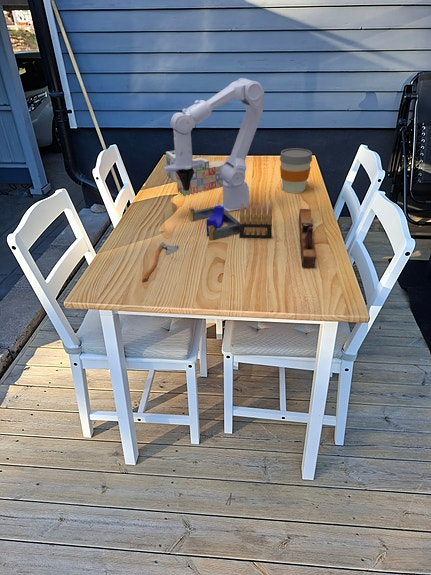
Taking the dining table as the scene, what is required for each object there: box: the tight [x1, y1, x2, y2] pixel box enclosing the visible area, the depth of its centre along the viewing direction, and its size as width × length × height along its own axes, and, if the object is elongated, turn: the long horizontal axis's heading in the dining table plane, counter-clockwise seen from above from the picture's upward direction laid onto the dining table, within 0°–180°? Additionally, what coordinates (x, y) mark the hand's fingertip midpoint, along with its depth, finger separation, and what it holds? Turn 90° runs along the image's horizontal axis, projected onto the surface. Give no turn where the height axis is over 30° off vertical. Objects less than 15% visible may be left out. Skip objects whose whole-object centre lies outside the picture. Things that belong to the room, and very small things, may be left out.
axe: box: [141, 242, 180, 283], centre depth 129 cm, size 22×6×2 cm, turn 172°
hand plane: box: [298, 208, 317, 269], centre depth 135 cm, size 34×5×10 cm, turn 175°
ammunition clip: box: [238, 202, 273, 240], centre depth 138 cm, size 11×2×12 cm, turn 85°
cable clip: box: [205, 205, 225, 237], centre depth 146 cm, size 12×4×6 cm, turn 165°
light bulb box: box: [165, 149, 177, 183], centre depth 188 cm, size 11×7×11 cm, turn 25°
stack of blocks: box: [176, 156, 225, 197], centre depth 176 cm, size 21×6×12 cm, turn 123°
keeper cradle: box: [188, 206, 240, 241], centre depth 147 cm, size 12×18×4 cm, turn 26°
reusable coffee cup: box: [279, 147, 313, 194], centre depth 171 cm, size 13×13×15 cm
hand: (186, 189), depth 151 cm, fingers closed
